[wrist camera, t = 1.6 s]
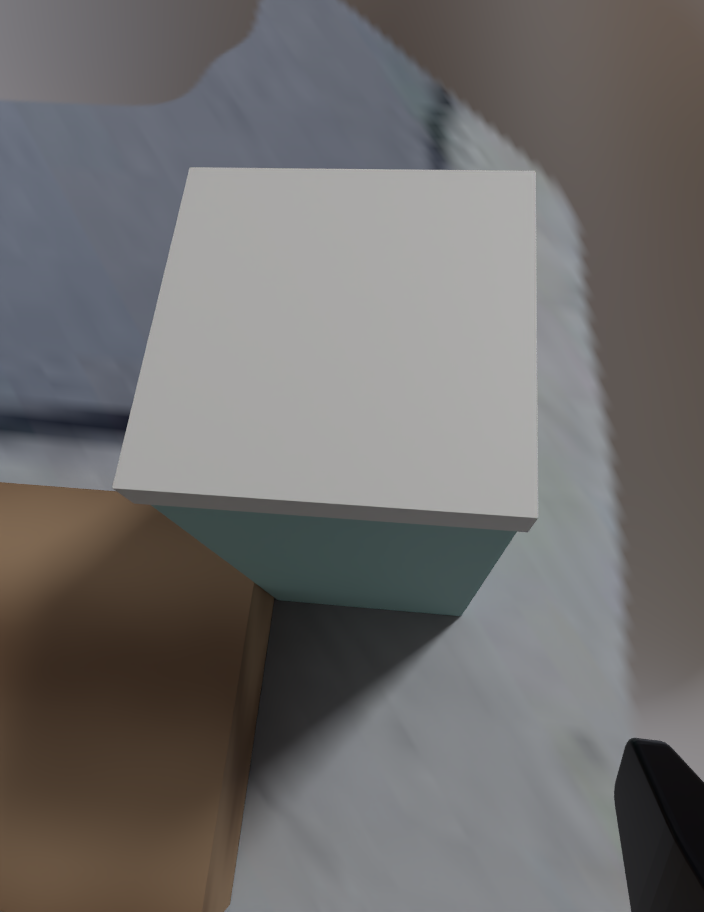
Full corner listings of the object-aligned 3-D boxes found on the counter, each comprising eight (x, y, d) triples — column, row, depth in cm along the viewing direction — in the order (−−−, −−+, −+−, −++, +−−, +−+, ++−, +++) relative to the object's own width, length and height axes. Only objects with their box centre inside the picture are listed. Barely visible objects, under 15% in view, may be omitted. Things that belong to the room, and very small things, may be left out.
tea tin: (464, 619, 20) (538, 518, 9) (274, 603, 21) (112, 488, 9) (470, 441, 22) (535, 171, 11) (298, 431, 23) (189, 167, 12)
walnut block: (230, 904, 18) (197, 943, 15) (-121, 850, 19) (-212, 877, 16) (284, 527, 22) (266, 503, 19) (-11, 503, 23) (-69, 476, 20)
